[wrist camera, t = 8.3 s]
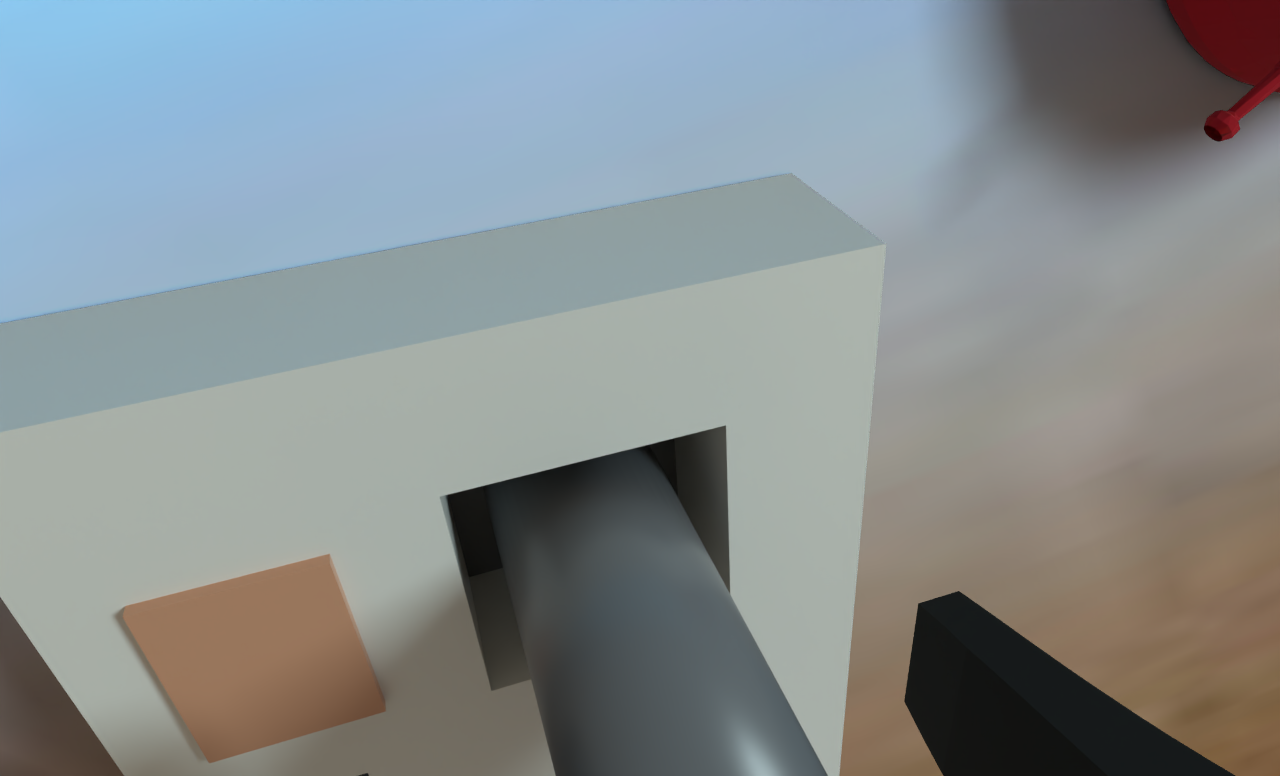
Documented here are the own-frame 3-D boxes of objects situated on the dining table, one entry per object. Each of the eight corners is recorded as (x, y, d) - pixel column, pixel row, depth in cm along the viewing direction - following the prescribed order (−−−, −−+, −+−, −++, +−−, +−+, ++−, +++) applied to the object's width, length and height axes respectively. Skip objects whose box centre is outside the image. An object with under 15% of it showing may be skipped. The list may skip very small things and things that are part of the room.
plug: (650, 502, 17) (883, 970, 10) (497, 546, 16) (631, 1075, 9) (635, 372, 15) (900, 827, 8) (464, 416, 15) (598, 943, 8)
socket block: (777, 795, 25) (831, 909, 22) (336, 947, 22) (339, 1095, 20) (791, 173, 14) (894, 249, 12) (-16, 327, 12) (-107, 464, 9)
